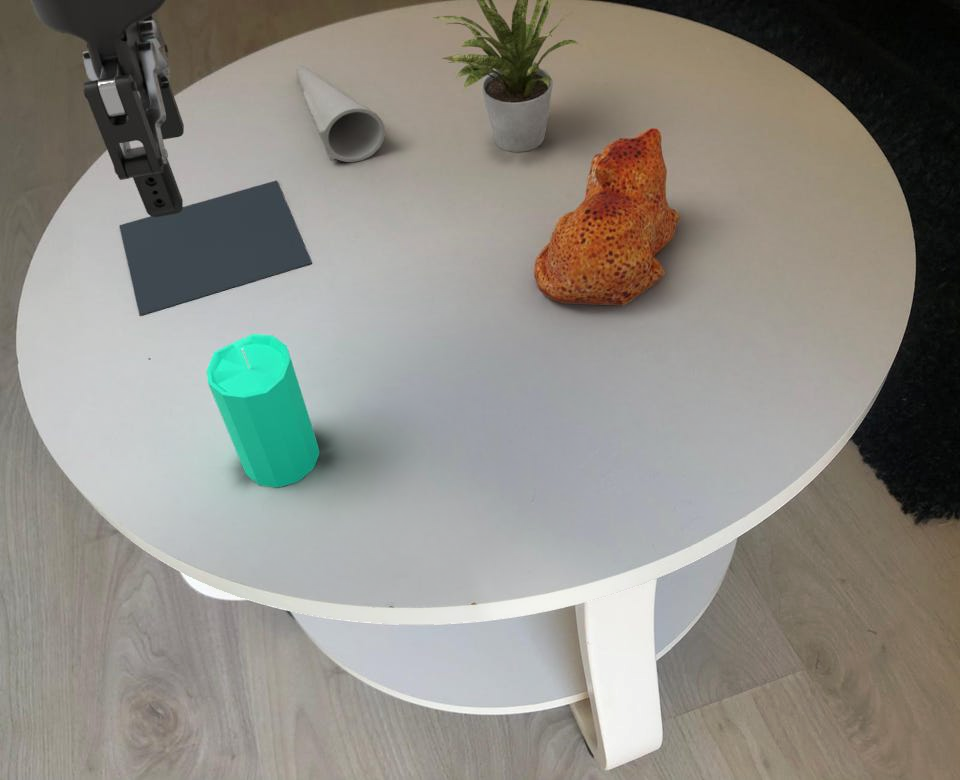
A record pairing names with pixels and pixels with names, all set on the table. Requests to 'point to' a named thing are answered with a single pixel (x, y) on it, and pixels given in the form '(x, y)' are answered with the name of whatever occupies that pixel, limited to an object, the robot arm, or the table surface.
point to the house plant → (511, 74)
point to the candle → (263, 409)
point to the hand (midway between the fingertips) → (168, 172)
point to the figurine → (612, 229)
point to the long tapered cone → (341, 119)
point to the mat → (212, 247)
